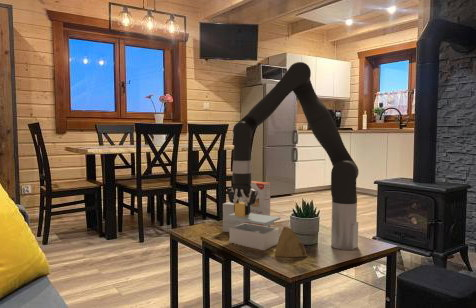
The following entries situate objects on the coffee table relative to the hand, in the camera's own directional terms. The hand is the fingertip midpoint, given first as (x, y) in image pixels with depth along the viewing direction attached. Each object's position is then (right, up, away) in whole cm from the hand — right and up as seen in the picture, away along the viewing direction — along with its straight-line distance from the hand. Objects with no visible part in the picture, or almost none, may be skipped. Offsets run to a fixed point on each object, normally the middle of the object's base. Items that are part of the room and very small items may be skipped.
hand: (242, 214), depth 151 cm
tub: (+5, -11, -3) cm, 12 cm away
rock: (+17, -12, -18) cm, 28 cm away
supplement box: (-4, -10, +17) cm, 20 cm away
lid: (+4, -3, -3) cm, 5 cm away
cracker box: (+6, -10, +27) cm, 29 cm away
